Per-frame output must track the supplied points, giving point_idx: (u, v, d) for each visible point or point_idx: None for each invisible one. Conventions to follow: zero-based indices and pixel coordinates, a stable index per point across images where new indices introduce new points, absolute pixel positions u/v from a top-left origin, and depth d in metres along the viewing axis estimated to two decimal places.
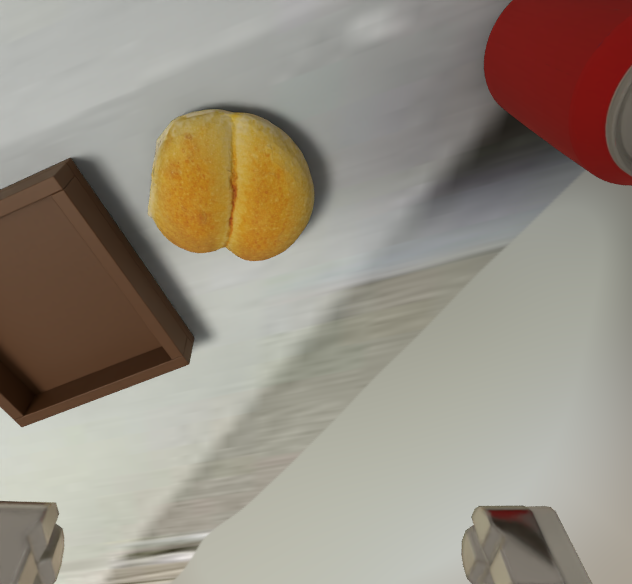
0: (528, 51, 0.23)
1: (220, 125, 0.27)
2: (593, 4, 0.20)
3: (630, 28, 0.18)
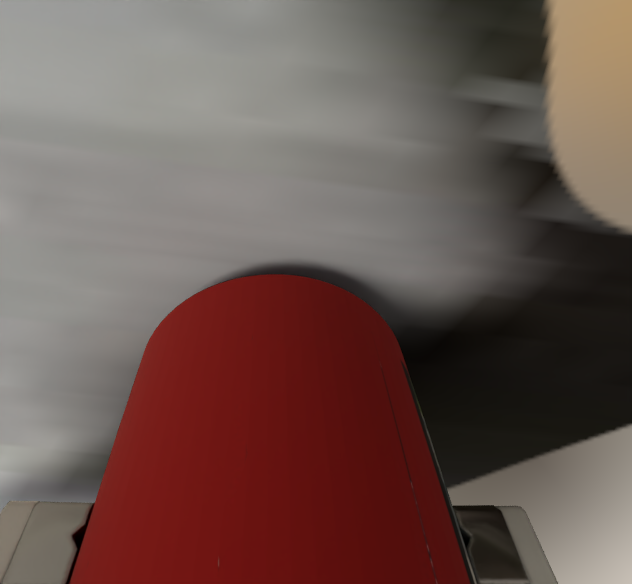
0: (111, 501, 0.08)
1: None
2: (234, 568, 0.06)
3: None
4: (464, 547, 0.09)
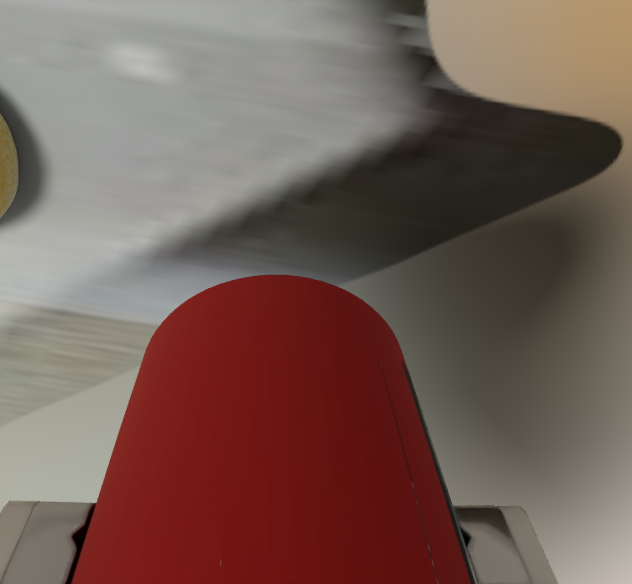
0: (112, 501, 0.08)
1: None
2: (235, 568, 0.06)
3: None
4: (464, 547, 0.09)
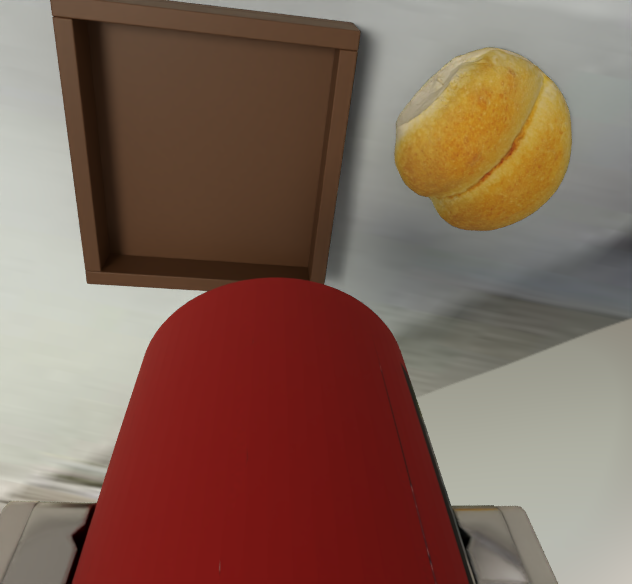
0: (112, 504, 0.08)
1: (537, 79, 0.25)
2: (234, 572, 0.07)
3: None
4: (464, 550, 0.09)
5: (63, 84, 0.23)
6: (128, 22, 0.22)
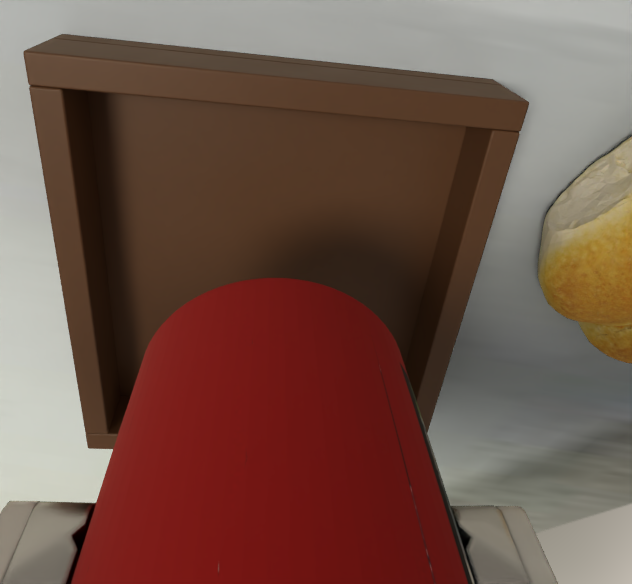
0: (110, 504, 0.08)
1: None
2: (233, 572, 0.07)
3: None
4: (463, 551, 0.09)
5: (49, 189, 0.15)
6: (155, 93, 0.14)
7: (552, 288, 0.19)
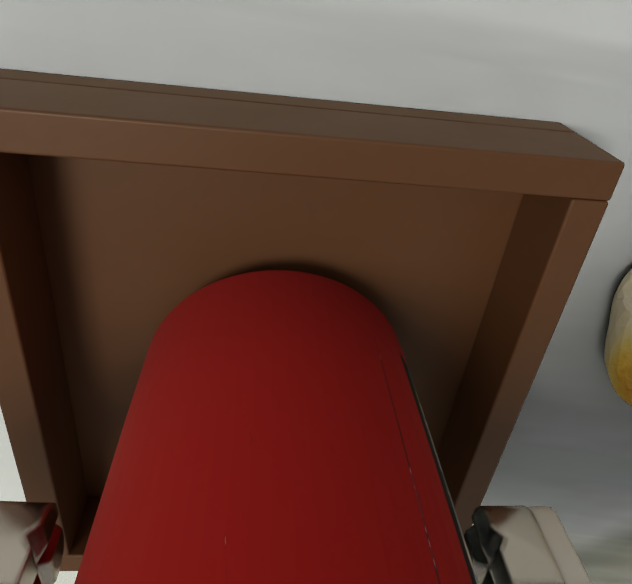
0: (120, 486, 0.09)
1: None
2: (240, 546, 0.07)
3: None
4: (461, 531, 0.09)
5: None
6: (109, 156, 0.10)
7: (626, 380, 0.15)
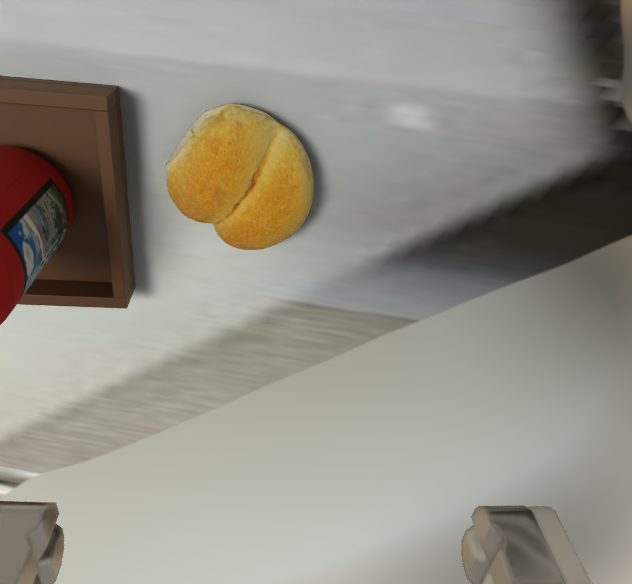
0: None
1: (267, 128, 0.31)
2: None
3: None
4: (28, 213, 0.28)
5: None
6: None
7: (173, 200, 0.33)
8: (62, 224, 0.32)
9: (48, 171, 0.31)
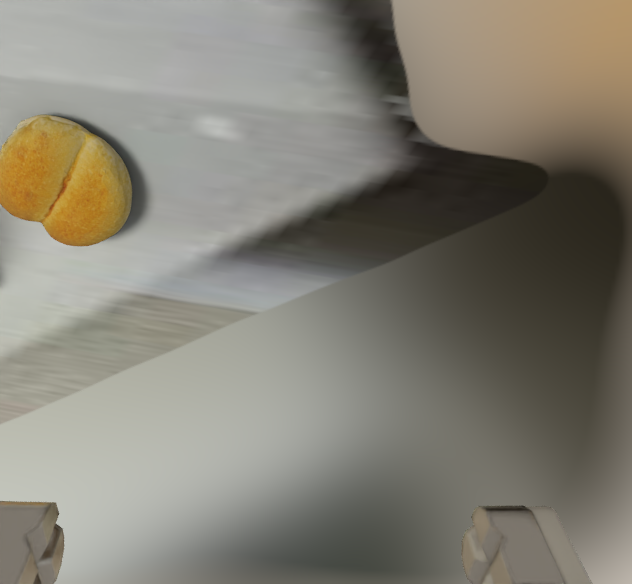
0: None
1: (73, 138, 0.35)
2: None
3: None
4: None
5: None
6: None
7: None
8: None
9: None
